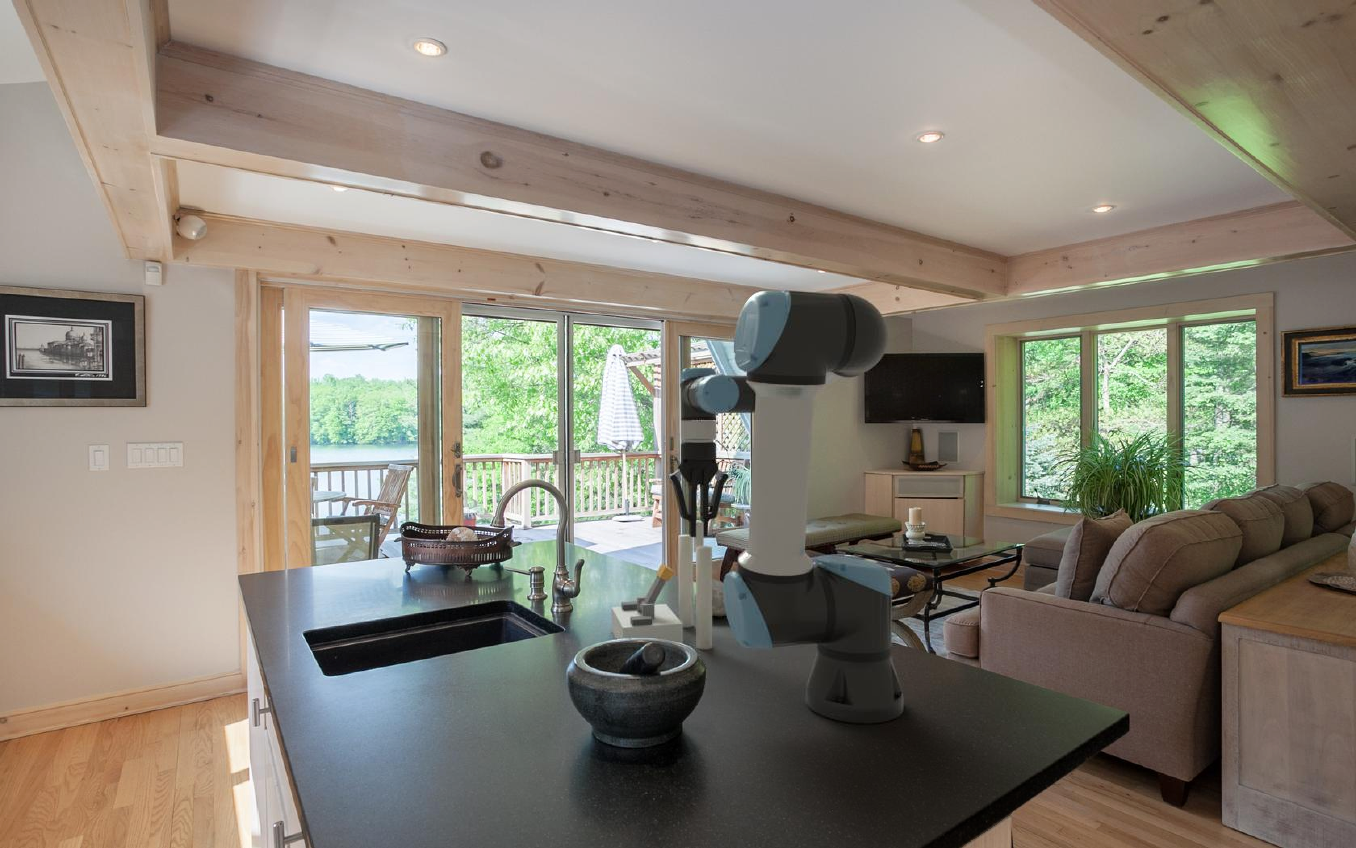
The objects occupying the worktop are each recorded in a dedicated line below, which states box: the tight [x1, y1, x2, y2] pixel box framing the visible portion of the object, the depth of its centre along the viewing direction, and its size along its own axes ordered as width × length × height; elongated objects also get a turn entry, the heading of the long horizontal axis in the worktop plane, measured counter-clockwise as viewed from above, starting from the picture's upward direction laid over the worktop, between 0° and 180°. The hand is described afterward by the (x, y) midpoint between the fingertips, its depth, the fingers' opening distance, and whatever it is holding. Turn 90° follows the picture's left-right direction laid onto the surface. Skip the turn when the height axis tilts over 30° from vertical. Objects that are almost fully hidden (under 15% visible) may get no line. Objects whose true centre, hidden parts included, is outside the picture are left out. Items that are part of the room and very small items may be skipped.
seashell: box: [693, 578, 727, 617], centre depth 170 cm, size 9×12×15 cm
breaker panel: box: [611, 596, 684, 643], centre depth 150 cm, size 16×12×8 cm
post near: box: [695, 545, 713, 650], centre depth 145 cm, size 3×3×20 cm
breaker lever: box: [639, 563, 675, 611], centre depth 151 cm, size 4×2×10 cm, turn 13°
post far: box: [677, 534, 694, 629], centre depth 160 cm, size 3×3×20 cm
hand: (698, 552), depth 153 cm, fingers closed
